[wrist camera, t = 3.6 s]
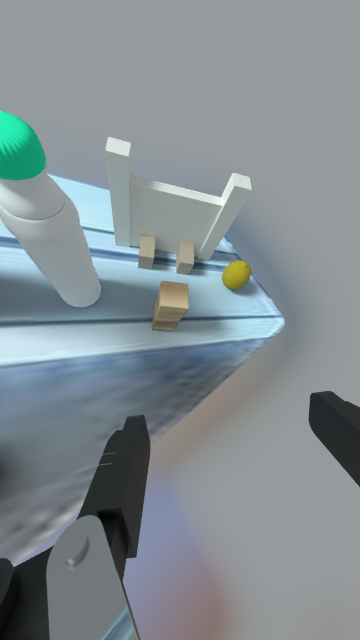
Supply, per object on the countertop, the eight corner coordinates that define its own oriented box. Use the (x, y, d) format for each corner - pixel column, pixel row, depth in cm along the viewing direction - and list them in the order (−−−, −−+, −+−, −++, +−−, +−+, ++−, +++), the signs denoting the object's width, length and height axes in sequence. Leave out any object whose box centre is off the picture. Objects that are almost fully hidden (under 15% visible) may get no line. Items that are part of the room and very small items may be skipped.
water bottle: (59, 278, 36) (-69, 84, 13) (98, 274, 38) (48, 103, 15) (63, 311, 34) (-79, 155, 11) (104, 305, 36) (57, 164, 13)
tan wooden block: (171, 331, 38) (188, 308, 27) (152, 330, 37) (160, 305, 26) (172, 310, 39) (188, 280, 28) (153, 308, 38) (161, 277, 27)
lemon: (227, 298, 44) (246, 281, 36) (212, 281, 44) (228, 260, 37) (241, 287, 46) (263, 268, 38) (227, 271, 46) (245, 249, 39)
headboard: (209, 277, 44) (255, 213, 28) (113, 263, 39) (99, 175, 23) (208, 250, 47) (249, 177, 31) (117, 234, 42) (108, 136, 26)
